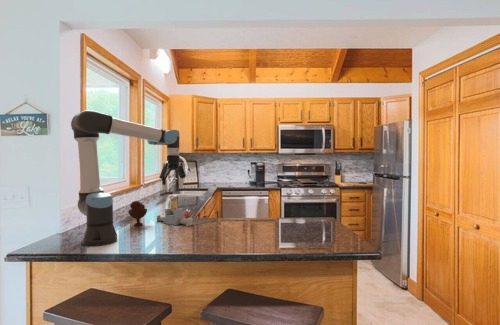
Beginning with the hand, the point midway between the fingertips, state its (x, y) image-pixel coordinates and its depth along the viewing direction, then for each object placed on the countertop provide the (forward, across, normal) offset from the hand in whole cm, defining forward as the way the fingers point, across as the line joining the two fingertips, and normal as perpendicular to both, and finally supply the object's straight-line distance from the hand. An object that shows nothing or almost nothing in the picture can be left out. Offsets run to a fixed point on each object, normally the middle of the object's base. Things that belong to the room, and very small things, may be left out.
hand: (173, 189), depth 189 cm
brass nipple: (+17, +1, 0) cm, 17 cm away
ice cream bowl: (+22, -14, +15) cm, 30 cm away
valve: (+21, +4, 0) cm, 21 cm away
